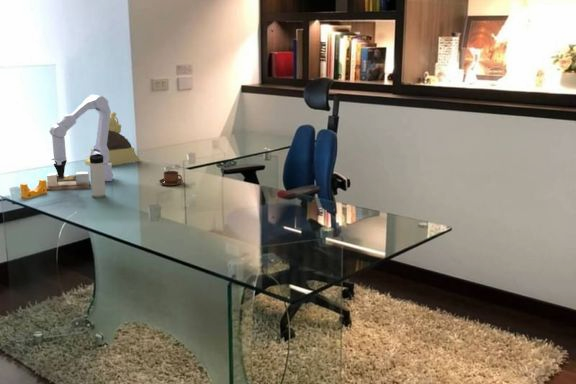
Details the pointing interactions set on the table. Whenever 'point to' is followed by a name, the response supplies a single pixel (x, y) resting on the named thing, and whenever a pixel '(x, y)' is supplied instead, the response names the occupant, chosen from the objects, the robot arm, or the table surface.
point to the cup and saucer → (171, 178)
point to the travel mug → (97, 176)
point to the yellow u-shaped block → (33, 193)
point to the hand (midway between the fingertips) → (61, 176)
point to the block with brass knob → (66, 178)
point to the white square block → (52, 179)
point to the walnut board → (66, 186)
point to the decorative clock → (117, 145)
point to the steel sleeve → (82, 178)
